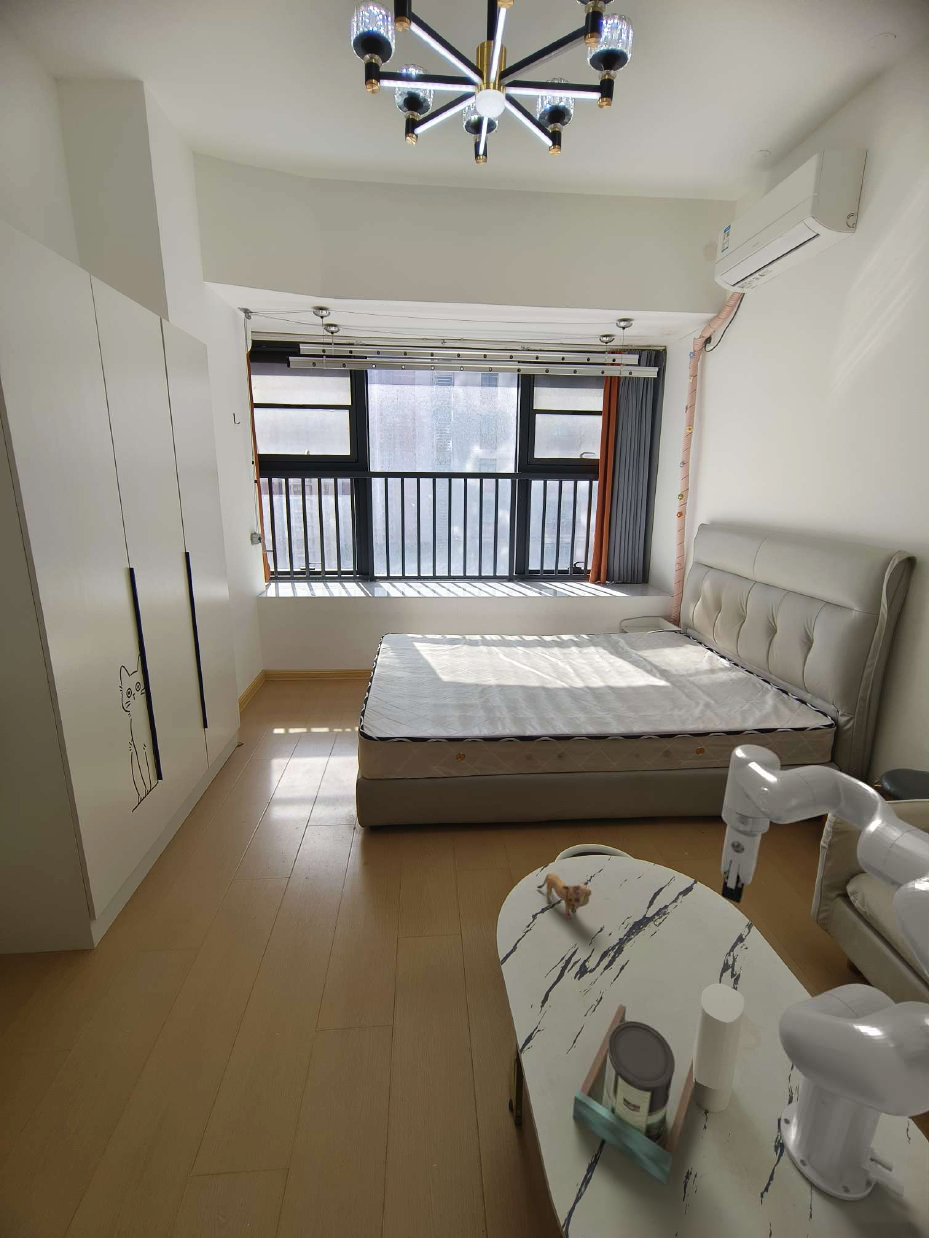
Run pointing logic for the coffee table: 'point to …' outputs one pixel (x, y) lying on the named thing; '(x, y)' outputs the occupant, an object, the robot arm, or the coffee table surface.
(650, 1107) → the coffee can
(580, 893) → the lion figurine
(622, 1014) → the bay
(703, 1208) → the coffee table surface
